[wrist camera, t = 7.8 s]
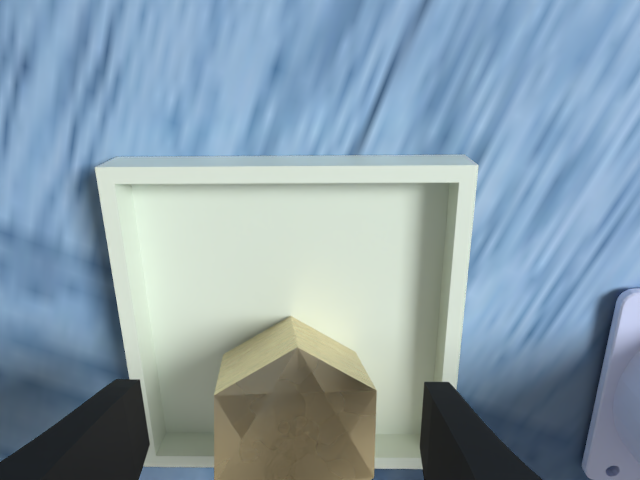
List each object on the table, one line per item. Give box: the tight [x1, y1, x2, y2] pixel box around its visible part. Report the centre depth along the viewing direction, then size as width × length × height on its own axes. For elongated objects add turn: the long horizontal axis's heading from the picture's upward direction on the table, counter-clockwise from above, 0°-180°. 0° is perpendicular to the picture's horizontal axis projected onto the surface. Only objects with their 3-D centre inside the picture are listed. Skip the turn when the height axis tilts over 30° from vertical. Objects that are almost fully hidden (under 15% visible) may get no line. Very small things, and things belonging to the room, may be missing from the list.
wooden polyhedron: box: [214, 316, 377, 480], centre depth 16 cm, size 5×5×3 cm
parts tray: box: [95, 155, 478, 469], centre depth 17 cm, size 11×11×2 cm
